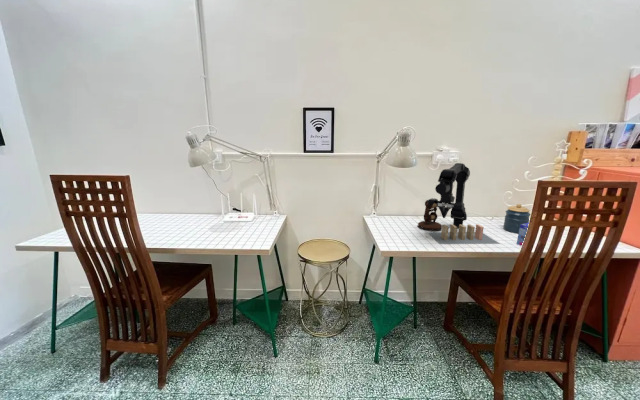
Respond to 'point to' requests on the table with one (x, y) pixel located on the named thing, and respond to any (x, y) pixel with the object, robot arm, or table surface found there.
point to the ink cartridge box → (522, 233)
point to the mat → (458, 241)
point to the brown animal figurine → (430, 218)
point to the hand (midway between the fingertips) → (443, 217)
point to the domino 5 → (479, 232)
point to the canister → (516, 218)
